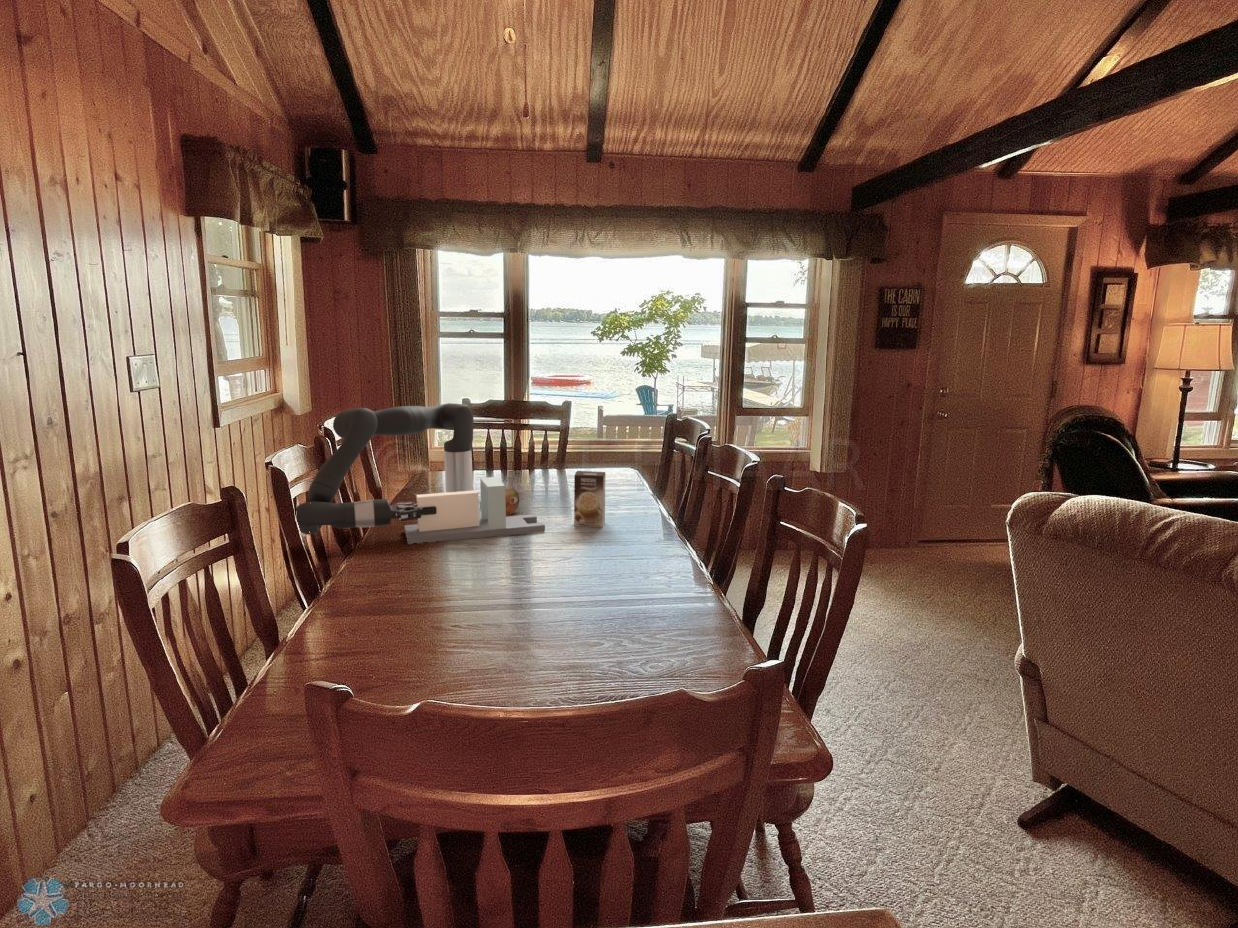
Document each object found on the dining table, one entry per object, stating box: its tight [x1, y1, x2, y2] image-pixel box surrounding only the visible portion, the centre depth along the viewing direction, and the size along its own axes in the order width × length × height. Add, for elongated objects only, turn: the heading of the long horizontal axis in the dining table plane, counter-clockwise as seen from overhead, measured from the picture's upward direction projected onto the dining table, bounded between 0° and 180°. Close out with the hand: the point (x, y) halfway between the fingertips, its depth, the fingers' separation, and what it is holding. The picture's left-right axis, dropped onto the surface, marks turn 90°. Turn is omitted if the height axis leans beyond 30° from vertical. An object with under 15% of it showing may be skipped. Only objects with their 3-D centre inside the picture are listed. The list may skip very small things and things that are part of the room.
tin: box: [479, 487, 520, 516], centre depth 231 cm, size 15×3×8 cm, turn 143°
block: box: [415, 489, 480, 532], centre depth 210 cm, size 3×17×10 cm, turn 110°
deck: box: [403, 513, 546, 545], centre depth 213 cm, size 13×39×2 cm, turn 110°
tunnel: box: [479, 476, 507, 530], centre depth 214 cm, size 13×5×13 cm, turn 20°
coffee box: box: [573, 470, 606, 528], centre depth 221 cm, size 9×6×16 cm
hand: (435, 508), depth 208 cm, fingers closed on block, 3 cm apart
